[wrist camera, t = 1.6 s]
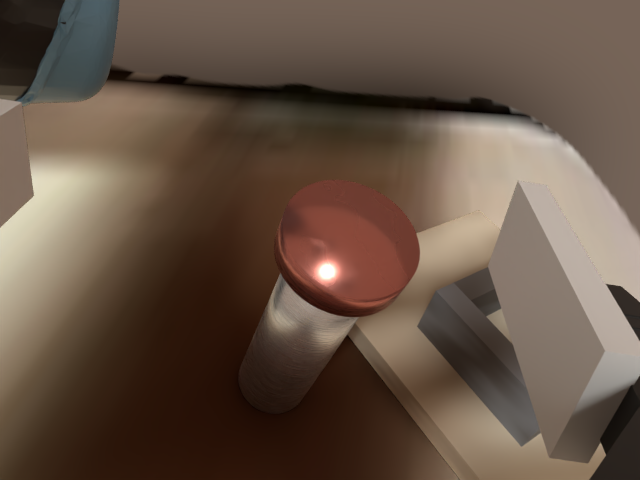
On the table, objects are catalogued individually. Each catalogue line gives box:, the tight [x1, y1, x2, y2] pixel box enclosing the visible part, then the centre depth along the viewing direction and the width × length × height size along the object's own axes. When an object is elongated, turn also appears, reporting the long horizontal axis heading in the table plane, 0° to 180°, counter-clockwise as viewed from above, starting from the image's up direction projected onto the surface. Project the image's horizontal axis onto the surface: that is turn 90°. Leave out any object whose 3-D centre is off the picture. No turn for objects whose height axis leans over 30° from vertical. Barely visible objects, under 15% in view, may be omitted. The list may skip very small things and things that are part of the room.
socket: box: [347, 210, 606, 480], centre depth 36 cm, size 22×16×5 cm
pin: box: [238, 180, 420, 414], centre depth 28 cm, size 6×6×14 cm
